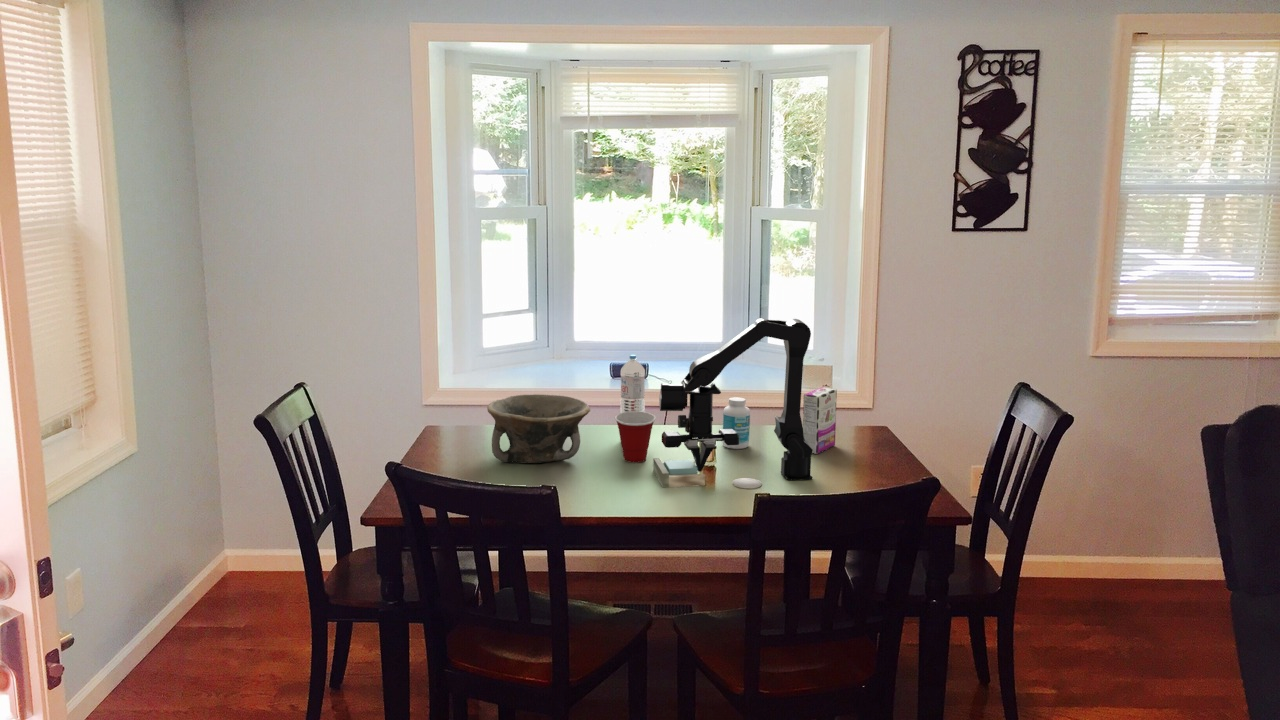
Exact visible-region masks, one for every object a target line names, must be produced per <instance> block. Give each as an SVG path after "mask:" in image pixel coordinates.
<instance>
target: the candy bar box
mask: <svg viewBox="0 0 1280 720" xmlns="http://www.w3.org/2000/svg"><path fill="white" fill-rule="evenodd" d="M837 391H838V389H835V388H832V387H819V388H817V389H814V390H812V391H809V392H807V393H804V394H803V404H802V405H803V409H802V426H803V433H804V439H805V440H806V442H807V443H808V444H809V446H810V447H811V448H812V450H813V451H812V453H814V455H819V454H821V453H823V452H825V451H827V450H829V449H831V448H833V447H834V446H836V430H837V429H836V428H837V427H836V424H837V420H836V419H837V418H836V417H837V397H838V396H837ZM828 448H829V449H828ZM826 449H827V450H826ZM824 450H825V451H824ZM822 451H823V452H822ZM820 452H821V453H820ZM818 453H819V454H818Z"/></svg>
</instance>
